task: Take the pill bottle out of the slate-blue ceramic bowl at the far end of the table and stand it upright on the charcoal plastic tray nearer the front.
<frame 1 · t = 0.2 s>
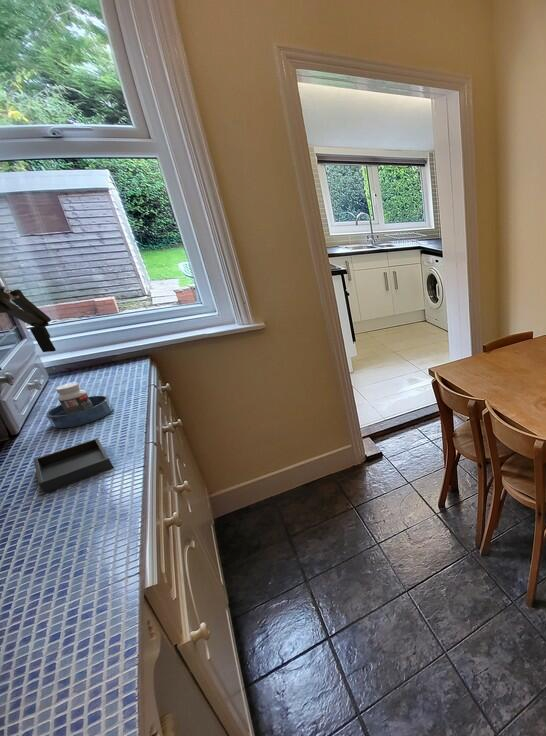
hand: (23, 360, 102), 21 cm above the worktop, tool pointing down, fingers open, 13 cm apart
bowl: (84, 417, 119), on the worktop
pill bottle: (84, 417, 119), resting on bowl
tray: (76, 468, 95), on the worktop
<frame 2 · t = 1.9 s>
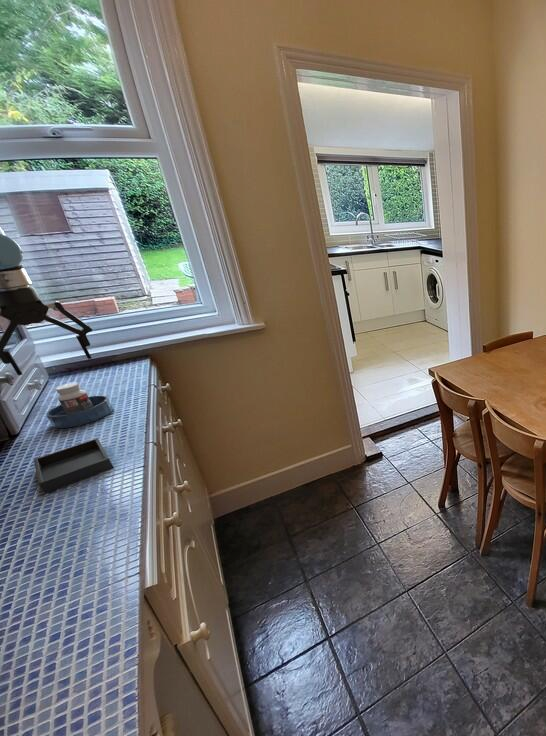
hand: (56, 365, 113), 16 cm above the worktop, tool pointing down, fingers open, 13 cm apart
nothing on the worktop moved.
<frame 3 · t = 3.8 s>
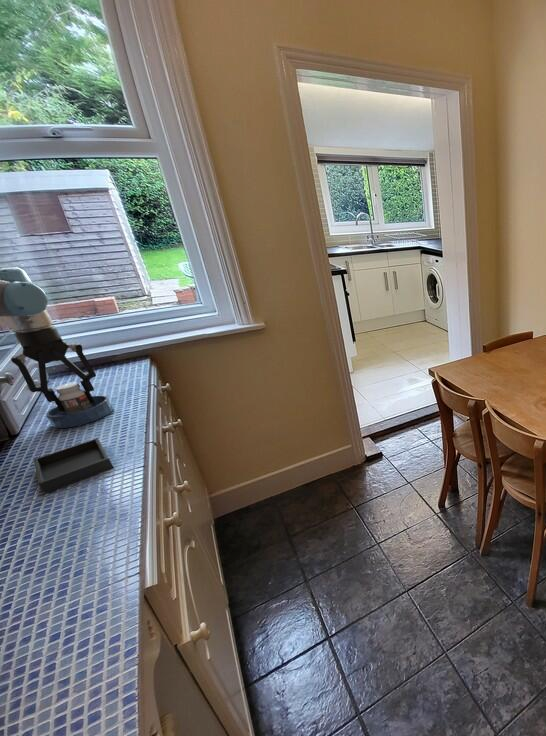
hand: (77, 406, 118), 4 cm above the worktop, tool pointing down, fingers closed on pill bottle, 6 cm apart
pill bottle: (84, 417, 119), resting on bowl, touching gripper
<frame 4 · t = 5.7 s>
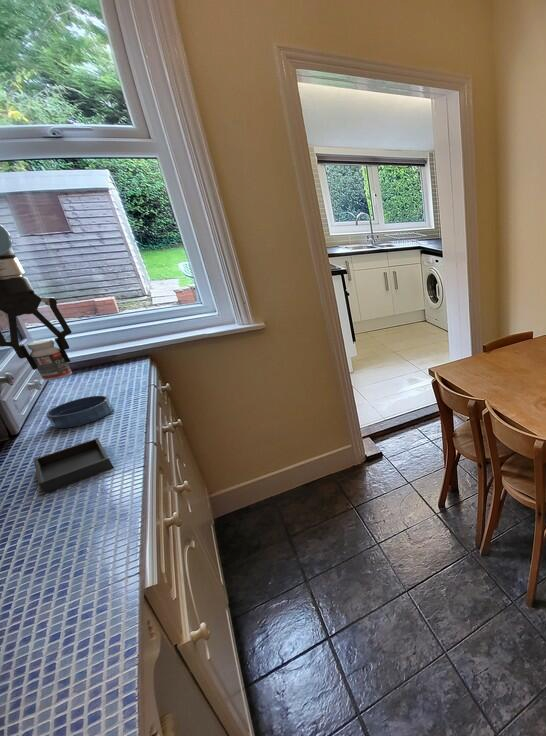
hand: (51, 364, 111), 17 cm above the worktop, tool pointing down, fingers closed on pill bottle, 6 cm apart
pill bottle: (58, 377, 112), point 13 cm above the worktop, touching gripper
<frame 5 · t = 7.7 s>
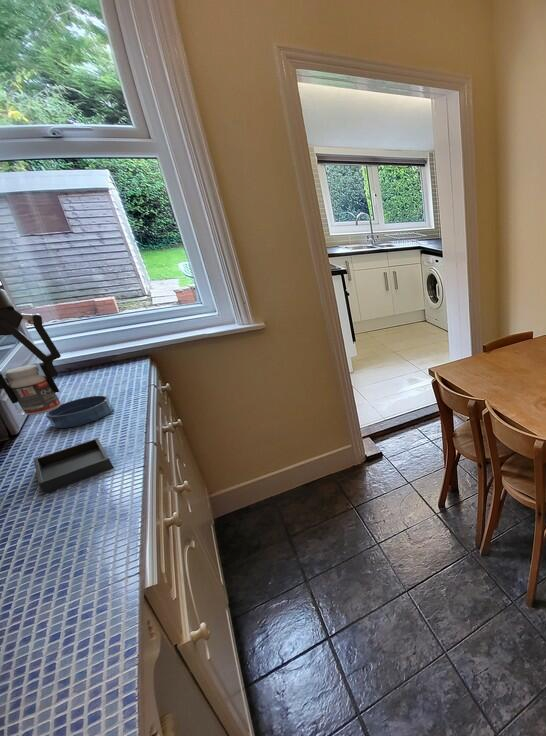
hand: (36, 395, 91), 17 cm above the worktop, tool pointing down, fingers closed on pill bottle, 6 cm apart
pill bottle: (44, 410, 92), point 14 cm above the worktop, touching gripper
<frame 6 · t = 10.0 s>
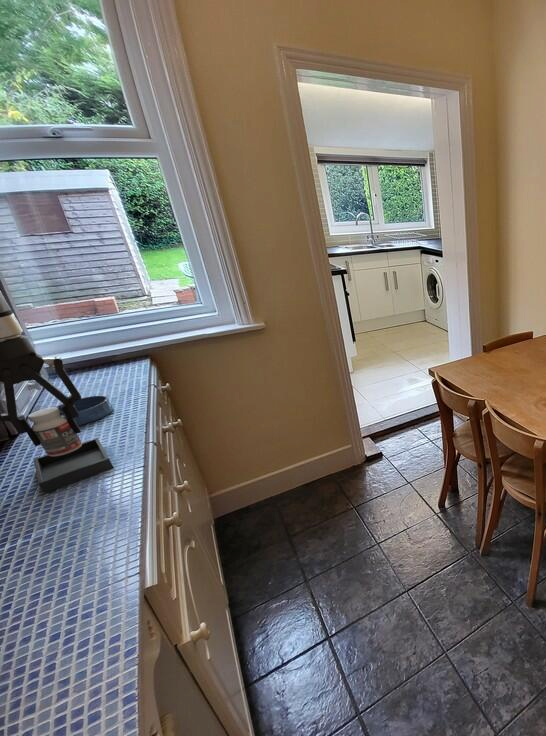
hand: (58, 437, 92), 8 cm above the worktop, tool pointing down, fingers closed on pill bottle, 6 cm apart
pill bottle: (66, 451, 93), point 5 cm above the worktop, touching gripper
when the fingers open (4 cm above the worktop, at t = 11.5 s): pill bottle stays where it is, resting on tray.
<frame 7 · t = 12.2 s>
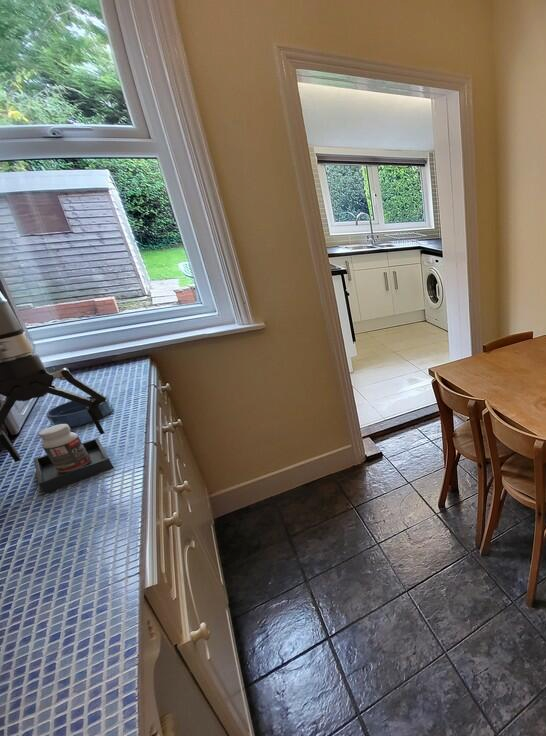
hand: (62, 445, 92), 6 cm above the worktop, tool pointing down, fingers open, 13 cm apart
pill bottle: (75, 466, 95), resting on tray
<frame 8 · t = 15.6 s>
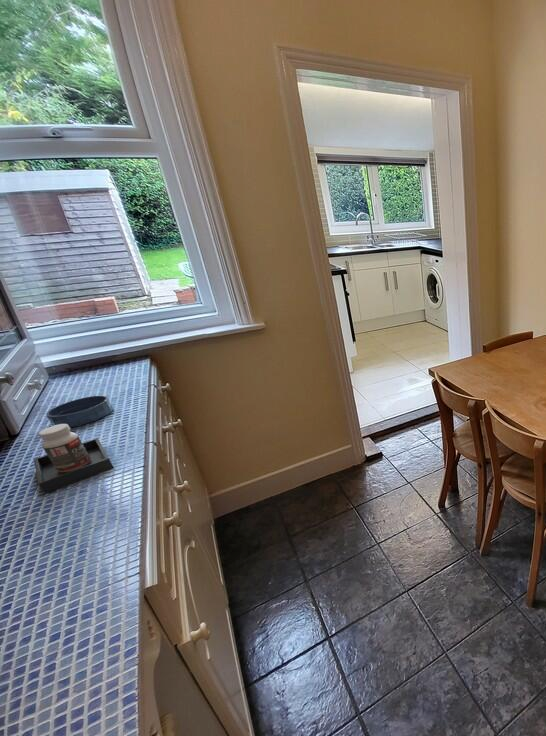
nothing on the worktop moved.
at the end: pill bottle inside the target area in the tray (0.1 cm from its centre), point 0.4 cm above the tray's base; pill bottle tilted 0° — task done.
